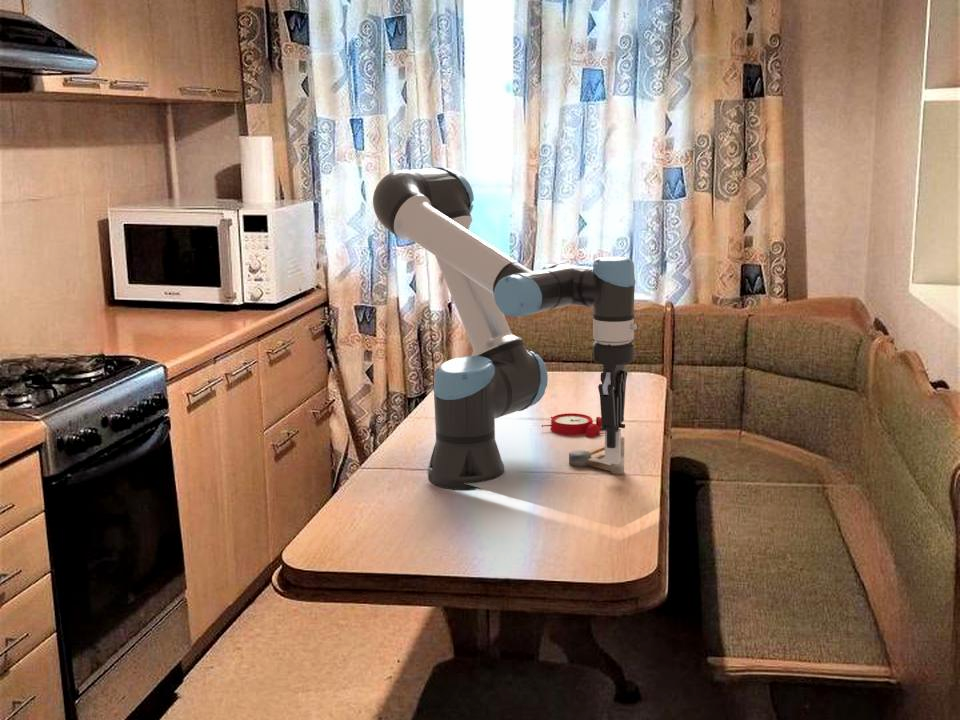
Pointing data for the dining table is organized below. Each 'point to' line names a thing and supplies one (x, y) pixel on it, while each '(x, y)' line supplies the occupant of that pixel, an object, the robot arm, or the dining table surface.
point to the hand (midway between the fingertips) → (612, 462)
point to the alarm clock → (575, 425)
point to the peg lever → (585, 459)
